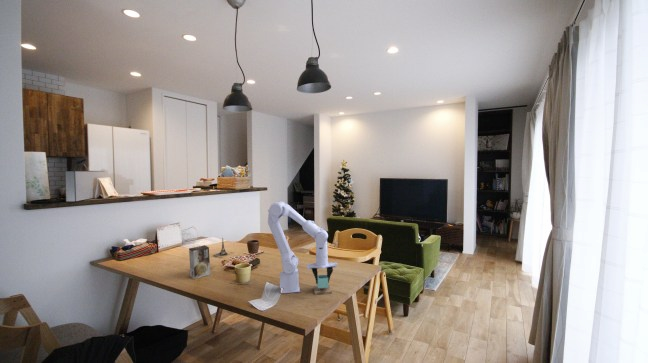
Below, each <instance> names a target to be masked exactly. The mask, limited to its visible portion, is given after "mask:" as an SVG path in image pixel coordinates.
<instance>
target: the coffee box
mask: <svg viewBox="0 0 648 363" xmlns="http://www.w3.org/2000/svg"><path fill="white" fill-rule="evenodd" d="M188 250H189V251H188V254H189V270H190V272H189V274H190V277H191V278H192V279H193V280H196V279H199V278H203V277H206V276H209V275H211V262H210V247H209V246H208V245H205V244H204V245H199V246H196V247H191V248H190V247H189V248H188Z"/></svg>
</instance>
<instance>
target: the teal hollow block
mask: <svg viewBox="0 0 648 363" xmlns="http://www.w3.org/2000/svg"><path fill="white" fill-rule="evenodd" d="M317 278H318V284H316V286H318V288H328V285H329V283H328V277H327V274H318V275H317Z"/></svg>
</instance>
